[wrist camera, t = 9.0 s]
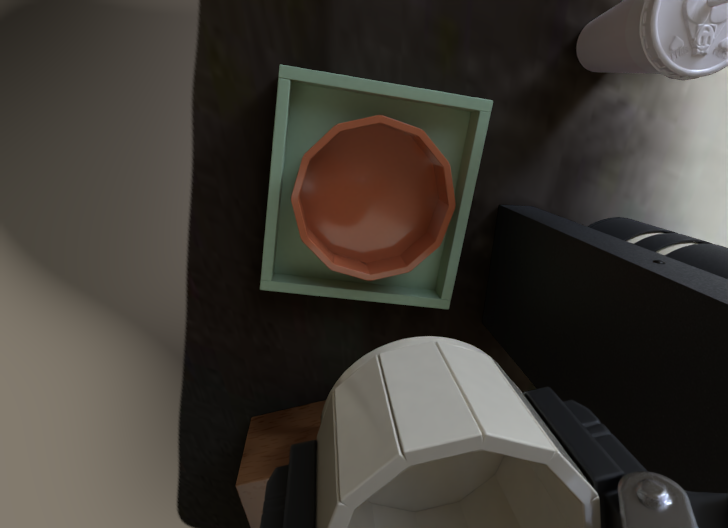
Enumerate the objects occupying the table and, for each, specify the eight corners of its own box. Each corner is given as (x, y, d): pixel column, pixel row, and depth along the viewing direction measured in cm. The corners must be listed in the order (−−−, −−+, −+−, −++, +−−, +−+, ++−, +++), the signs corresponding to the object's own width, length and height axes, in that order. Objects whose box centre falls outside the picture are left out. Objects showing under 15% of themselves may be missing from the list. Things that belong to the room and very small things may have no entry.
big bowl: (315, 277, 36) (314, 293, 32) (279, 136, 32) (274, 137, 29) (450, 247, 36) (463, 260, 32) (428, 104, 33) (441, 101, 29)
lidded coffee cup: (648, -3, 33) (876, -93, 19) (634, 91, 34) (832, 69, 21) (564, -5, 32) (738, -99, 19) (553, 91, 34) (705, 69, 21)
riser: (274, 488, 42) (264, 568, 34) (251, 416, 40) (234, 486, 32) (358, 468, 42) (366, 543, 35) (340, 396, 40) (344, 459, 32)
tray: (439, 296, 38) (448, 309, 35) (264, 278, 36) (259, 290, 33) (479, 102, 34) (493, 100, 31) (282, 69, 32) (279, 64, 29)
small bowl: (343, 524, 15) (352, 686, 11) (297, 361, 13) (286, 478, 9) (525, 481, 15) (606, 624, 11) (506, 314, 13) (596, 407, 9)
